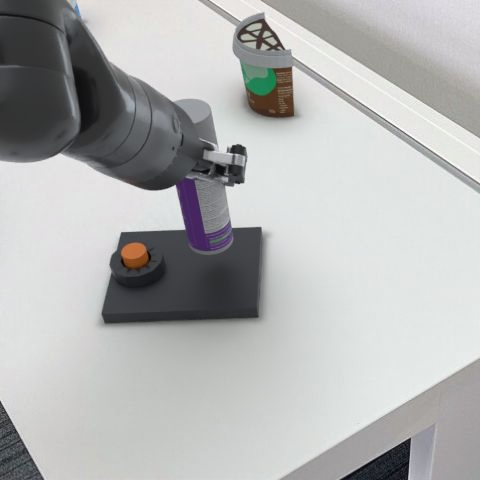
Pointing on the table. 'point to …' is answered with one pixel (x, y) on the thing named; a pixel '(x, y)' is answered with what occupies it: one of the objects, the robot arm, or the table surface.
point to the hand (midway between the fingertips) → (206, 172)
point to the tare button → (135, 255)
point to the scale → (185, 279)
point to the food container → (264, 67)
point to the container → (204, 193)
